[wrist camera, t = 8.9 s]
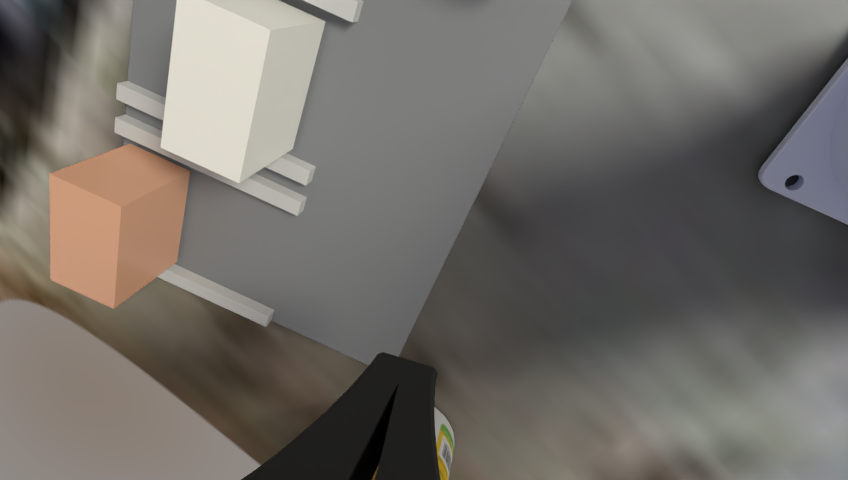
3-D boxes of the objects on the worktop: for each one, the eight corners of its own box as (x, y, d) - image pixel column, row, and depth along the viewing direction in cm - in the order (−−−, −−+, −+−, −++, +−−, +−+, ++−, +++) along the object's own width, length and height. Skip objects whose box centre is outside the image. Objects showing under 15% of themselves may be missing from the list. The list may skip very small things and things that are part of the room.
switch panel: (708, -288, 12) (768, -391, 9) (401, 346, 23) (377, 405, 20) (226, -500, 12) (109, -679, 9) (148, 229, 23) (82, 269, 20)
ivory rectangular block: (325, 21, 15) (270, 30, 12) (292, 148, 17) (238, 183, 14) (251, -13, 15) (178, -12, 12) (227, 119, 17) (160, 147, 14)
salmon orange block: (190, 171, 19) (121, 206, 16) (177, 262, 21) (113, 308, 18) (130, 143, 19) (49, 173, 16) (123, 237, 21) (50, 279, 18)
